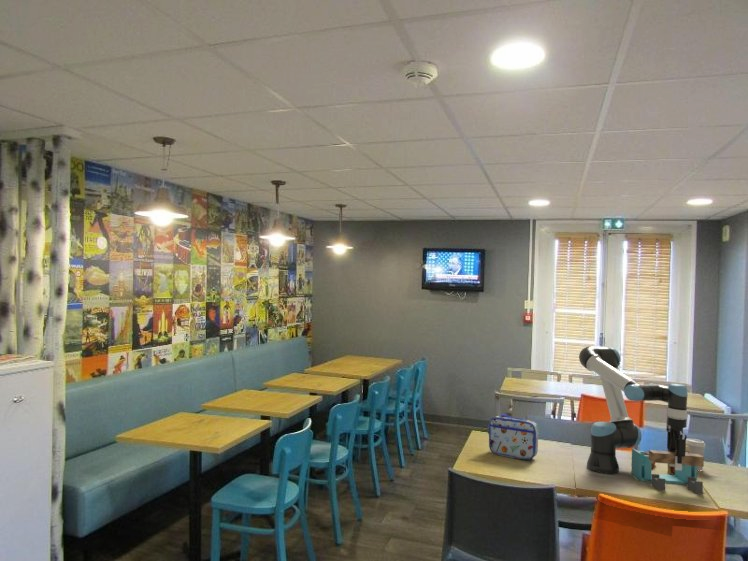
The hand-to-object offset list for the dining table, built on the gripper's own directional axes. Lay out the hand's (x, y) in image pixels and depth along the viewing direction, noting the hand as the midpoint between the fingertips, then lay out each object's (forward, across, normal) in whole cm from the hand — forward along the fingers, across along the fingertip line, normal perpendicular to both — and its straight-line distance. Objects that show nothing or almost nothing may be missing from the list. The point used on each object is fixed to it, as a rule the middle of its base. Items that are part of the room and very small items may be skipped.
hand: (675, 468), depth 229 cm
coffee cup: (+10, +35, -26) cm, 45 cm away
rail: (-2, 0, 0) cm, 2 cm away
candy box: (+10, +23, -12) cm, 28 cm away
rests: (+9, -1, 0) cm, 9 cm away
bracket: (+10, +12, 0) cm, 16 cm away
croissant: (+11, +38, -3) cm, 40 cm away
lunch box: (+11, +34, +69) cm, 77 cm away
